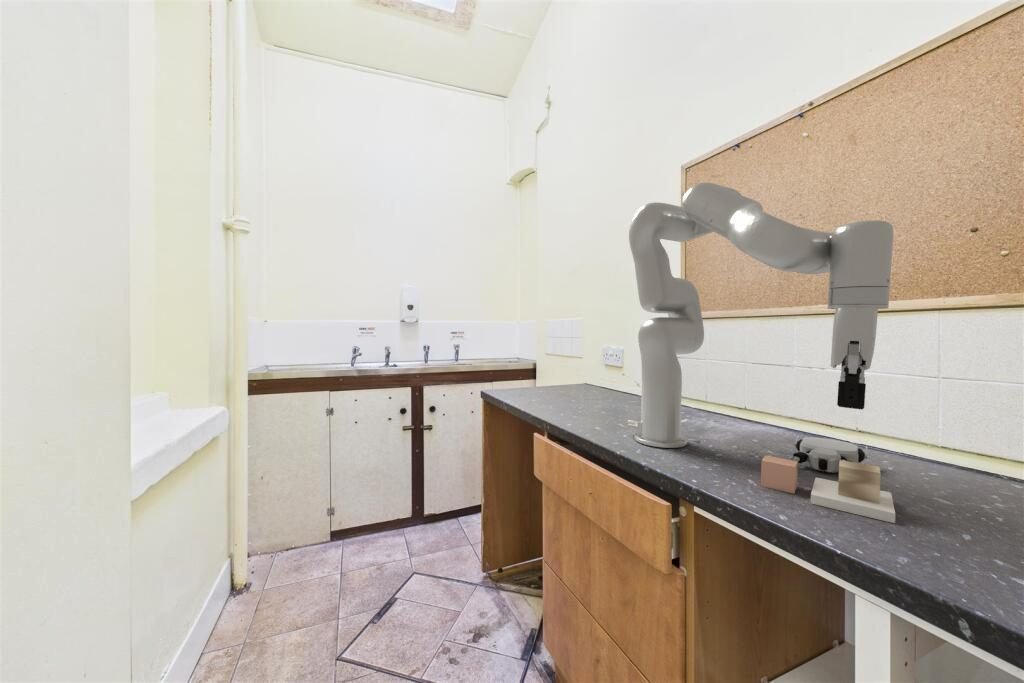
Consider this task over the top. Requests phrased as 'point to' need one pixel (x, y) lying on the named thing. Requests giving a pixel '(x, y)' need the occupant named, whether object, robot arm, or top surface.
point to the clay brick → (779, 474)
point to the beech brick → (859, 481)
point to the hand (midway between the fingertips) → (850, 403)
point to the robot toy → (826, 453)
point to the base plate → (852, 501)
